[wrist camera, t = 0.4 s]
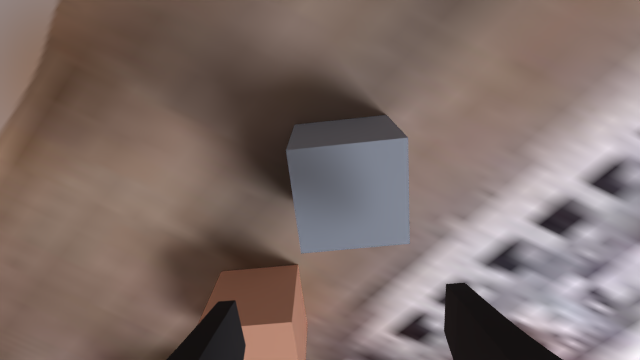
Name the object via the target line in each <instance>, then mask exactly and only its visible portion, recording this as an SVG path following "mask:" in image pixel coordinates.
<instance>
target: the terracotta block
mask: <svg viewBox="0 0 640 360" xmlns="http://www.w3.org/2000/svg"><path fill="white" fill-rule="evenodd" d="M231 300H236V305H237V309H238V313H239V318H240V322H241V327H242V331H243V335H244V340H245V344H246V347H245V354H244V360H306V342H307V320H306V313H305V307H304V300H303V294H302V288H301V281H300V275H299V268H298V265H288V266H277V267H266V268H255V269H243V270H232V271H221V273H220V276H219V278H218V280H217V282H216V285H215V287H214V289H213V291H212V294H211V296H210V298H209V300H208V303H207V305H206V307H205V309H204V312H203V314H202V316H201V318H200V321H199V323H200V322H201V321H202V319H203V318H204V317H205V316H206V315H207V314H208V312H209V311H210V310H211V309H212V308H213V307H214V306H215V304H216V303H217V302H218V301H231ZM199 323H198V324H199Z"/></svg>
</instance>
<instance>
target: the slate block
mask: <svg viewBox="0 0 640 360" xmlns="http://www.w3.org/2000/svg"><path fill="white" fill-rule="evenodd" d="M286 154H287V161H288V167H289V174H290V181H291V188H292V194H293V201H294V208H295V214H296V221H297V228H298V234H299V241H300V248H301V253H311V252H322V251H334V250H345V249H356V248H367V247H378V246H389V245H400V244H410V235H409V170H408V137H407V136H406V135H405V134H404V133H403V132H402V131H401V130H400V129H399V128H398V127H397V125H396V124H395V123H394V122H393V121H392V120H391V119H390V118H389V117H388V116H387V115H381V116H372V117H362V118H353V119H344V120H334V121H325V122H315V123H306V124H296V125H294V128H293V131H292V134H291V137H290V140H289V143H288V146H287V149H286Z"/></svg>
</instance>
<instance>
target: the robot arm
mask: <svg viewBox="0 0 640 360" xmlns="http://www.w3.org/2000/svg"><path fill="white" fill-rule="evenodd" d="M444 332H445V335H446V339H447V342H448V345H449V348H450V351H451V354H452V357H453V360H562V359H561V358H559V357H558V356H556V355H555V354H553V353H552V352H551V351H549V350H548V349H546V348H545V347H544V346H542V345H541V344H539V343H538V342H537V341H535V340H534V339H533V338H531V337H530V336H528V335H527V334H526V333H525V332H523V331H522V330H521V329H519V328H518V327H517V326H516V325H514V324H513V323H512V322H511V321H509V320H508V319H507V318H506V317H504V316H503V315H502V314H501V313H499V312H498V311H497V310H496V309H495V308H494V307H492V306H491V305H490V304H489V303H488V302H486V301H485V300H484V299H483V298H482V297H481V296H479V295H478V294H477V293H476V292H475V291H474V290H472V289H471V288H470V287H469V286H468V285H467V284H465V283H455V284H446V300H445V324H444ZM245 347H246V344H245V340H244V335H243V331H242V327H241V322H240V318H239V313H238V309H237V305H236V300H231V301H218V302H217V303H216V304H215V306H214V307H213V308H212V309H211V310H210V311H209V312H208V314H207V315H206V316H205V317H204V318H203V319H202V321H201V322H200V323H199V324H198V325H197V326H196V328H195V329H194V330H193V331H192V332H191V333H190V334H189V336H188V337H187V338H186V339H185V340H184V341H183V342H182V343H181V344H180V346H179V347H178V348H177V349H176V350H175V351H174V352H173V353H172V354H171V355H170V356H169V357H168V358H167V359H166V360H244V354H245Z"/></svg>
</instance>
